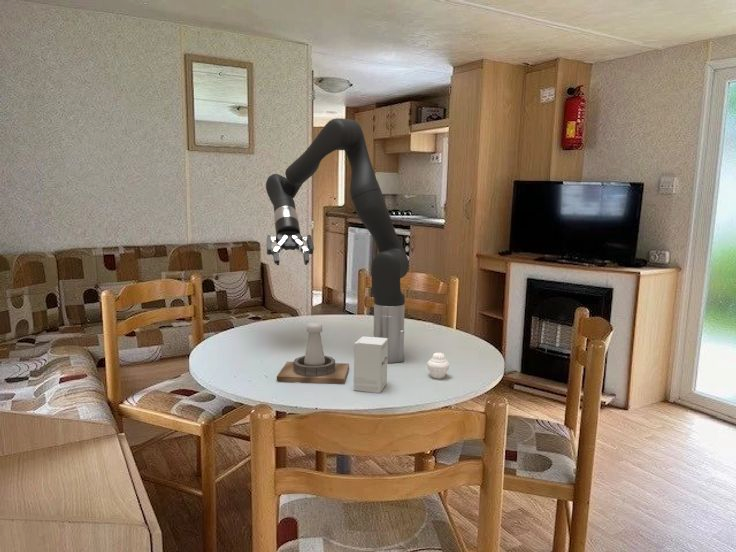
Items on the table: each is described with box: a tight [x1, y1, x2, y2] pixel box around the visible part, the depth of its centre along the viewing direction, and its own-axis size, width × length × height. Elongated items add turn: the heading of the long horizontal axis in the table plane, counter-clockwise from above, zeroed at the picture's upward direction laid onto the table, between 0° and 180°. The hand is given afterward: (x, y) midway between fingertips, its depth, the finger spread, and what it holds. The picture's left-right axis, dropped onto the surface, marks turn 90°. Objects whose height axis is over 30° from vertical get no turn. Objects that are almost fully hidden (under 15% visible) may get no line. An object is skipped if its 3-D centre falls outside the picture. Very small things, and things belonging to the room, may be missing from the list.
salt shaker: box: [304, 322, 325, 366], centre depth 146 cm, size 6×6×13 cm
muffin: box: [426, 352, 450, 379], centre depth 147 cm, size 6×6×7 cm
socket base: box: [276, 355, 350, 385], centre depth 147 cm, size 18×13×4 cm
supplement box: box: [353, 335, 388, 394], centre depth 137 cm, size 7×7×13 cm
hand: (292, 263), depth 161 cm, fingers open, 8 cm apart
